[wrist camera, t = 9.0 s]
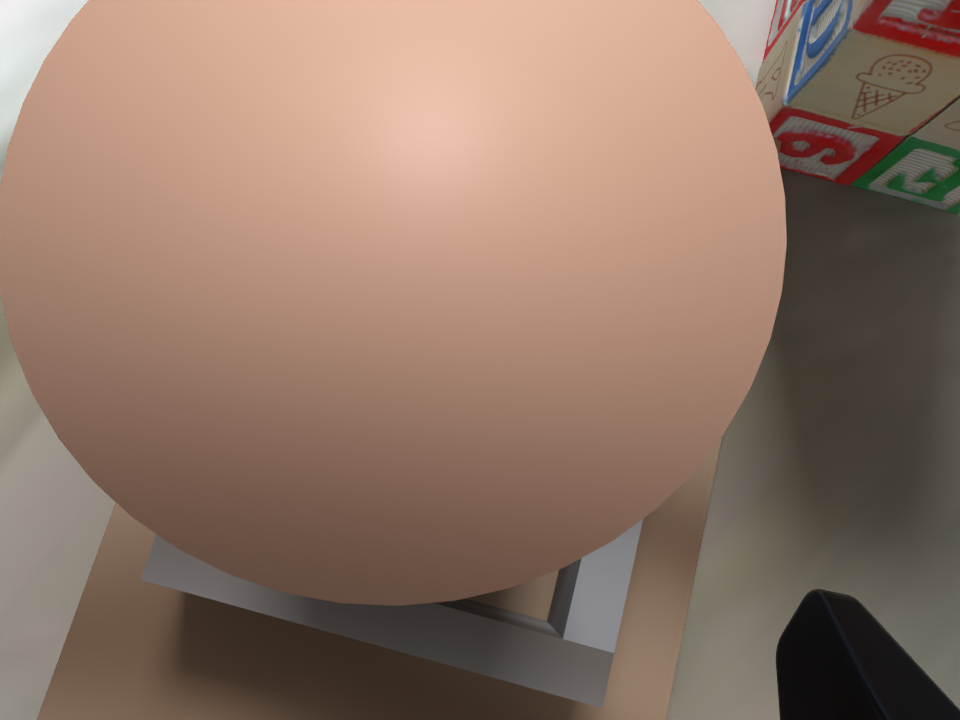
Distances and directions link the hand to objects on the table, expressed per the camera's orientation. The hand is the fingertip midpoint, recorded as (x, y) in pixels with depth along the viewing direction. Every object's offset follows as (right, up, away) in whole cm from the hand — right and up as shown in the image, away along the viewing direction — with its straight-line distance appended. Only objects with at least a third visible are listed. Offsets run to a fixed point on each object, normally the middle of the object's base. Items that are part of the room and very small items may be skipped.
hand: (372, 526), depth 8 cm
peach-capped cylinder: (0, 0, +10) cm, 10 cm away
